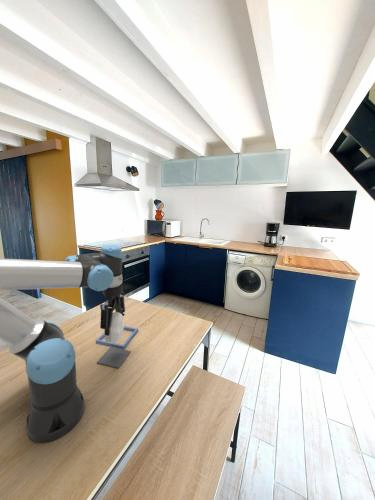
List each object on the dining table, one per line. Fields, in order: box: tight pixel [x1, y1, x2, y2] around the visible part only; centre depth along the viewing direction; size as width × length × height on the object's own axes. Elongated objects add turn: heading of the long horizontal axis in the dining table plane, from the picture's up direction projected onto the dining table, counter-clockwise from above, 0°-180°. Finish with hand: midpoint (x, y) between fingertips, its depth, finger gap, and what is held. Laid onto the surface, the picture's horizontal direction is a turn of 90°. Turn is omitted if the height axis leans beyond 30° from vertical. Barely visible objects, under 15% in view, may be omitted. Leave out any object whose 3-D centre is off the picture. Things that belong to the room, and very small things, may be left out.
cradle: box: [95, 326, 139, 350], centre depth 103 cm, size 14×14×2 cm
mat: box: [96, 346, 131, 369], centre depth 90 cm, size 10×10×1 cm
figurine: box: [103, 311, 125, 343], centre depth 86 cm, size 7×8×12 cm
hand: (114, 335), depth 88 cm, fingers closed on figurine, 7 cm apart
